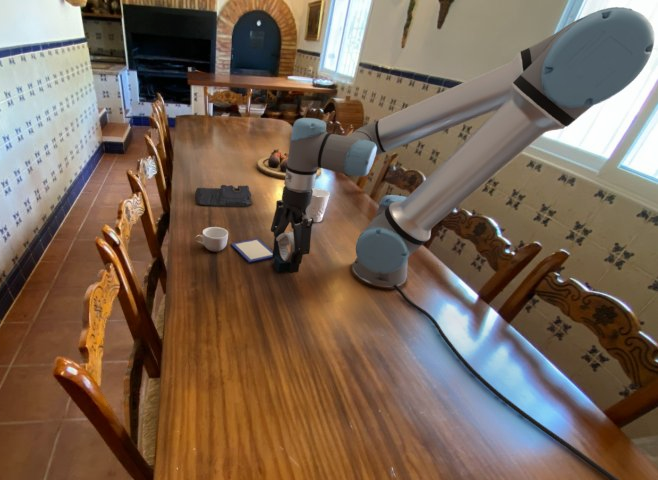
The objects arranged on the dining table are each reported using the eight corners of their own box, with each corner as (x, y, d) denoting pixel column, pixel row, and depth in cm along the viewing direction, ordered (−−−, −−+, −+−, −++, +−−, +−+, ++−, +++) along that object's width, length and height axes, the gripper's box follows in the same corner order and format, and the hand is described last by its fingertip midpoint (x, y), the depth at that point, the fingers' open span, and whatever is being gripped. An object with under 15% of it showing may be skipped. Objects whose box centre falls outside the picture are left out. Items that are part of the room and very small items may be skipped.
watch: (288, 260, 109) (294, 226, 102) (298, 274, 103) (305, 240, 96) (270, 261, 108) (275, 228, 101) (280, 276, 102) (285, 241, 95)
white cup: (323, 224, 131) (329, 197, 124) (301, 221, 132) (307, 194, 125) (323, 215, 137) (329, 190, 130) (303, 212, 138) (308, 187, 131)
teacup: (226, 242, 116) (226, 226, 112) (228, 254, 110) (229, 238, 106) (195, 242, 114) (194, 226, 111) (195, 254, 108) (195, 238, 105)
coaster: (277, 257, 110) (277, 255, 110) (249, 263, 106) (249, 261, 106) (257, 239, 118) (257, 238, 118) (230, 245, 114) (230, 243, 114)
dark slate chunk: (194, 191, 148) (194, 179, 145) (247, 192, 151) (248, 181, 148) (196, 206, 136) (196, 194, 133) (252, 207, 139) (254, 195, 136)
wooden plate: (327, 167, 185) (331, 150, 180) (311, 186, 162) (315, 167, 156) (269, 156, 194) (271, 140, 189) (246, 172, 171) (248, 154, 166)
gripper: (264, 175, 96) (255, 249, 110) (311, 205, 82) (295, 286, 96) (287, 172, 99) (276, 245, 113) (337, 201, 85) (317, 280, 99)
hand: (284, 264), depth 105 cm, fingers closed on watch, 8 cm apart
